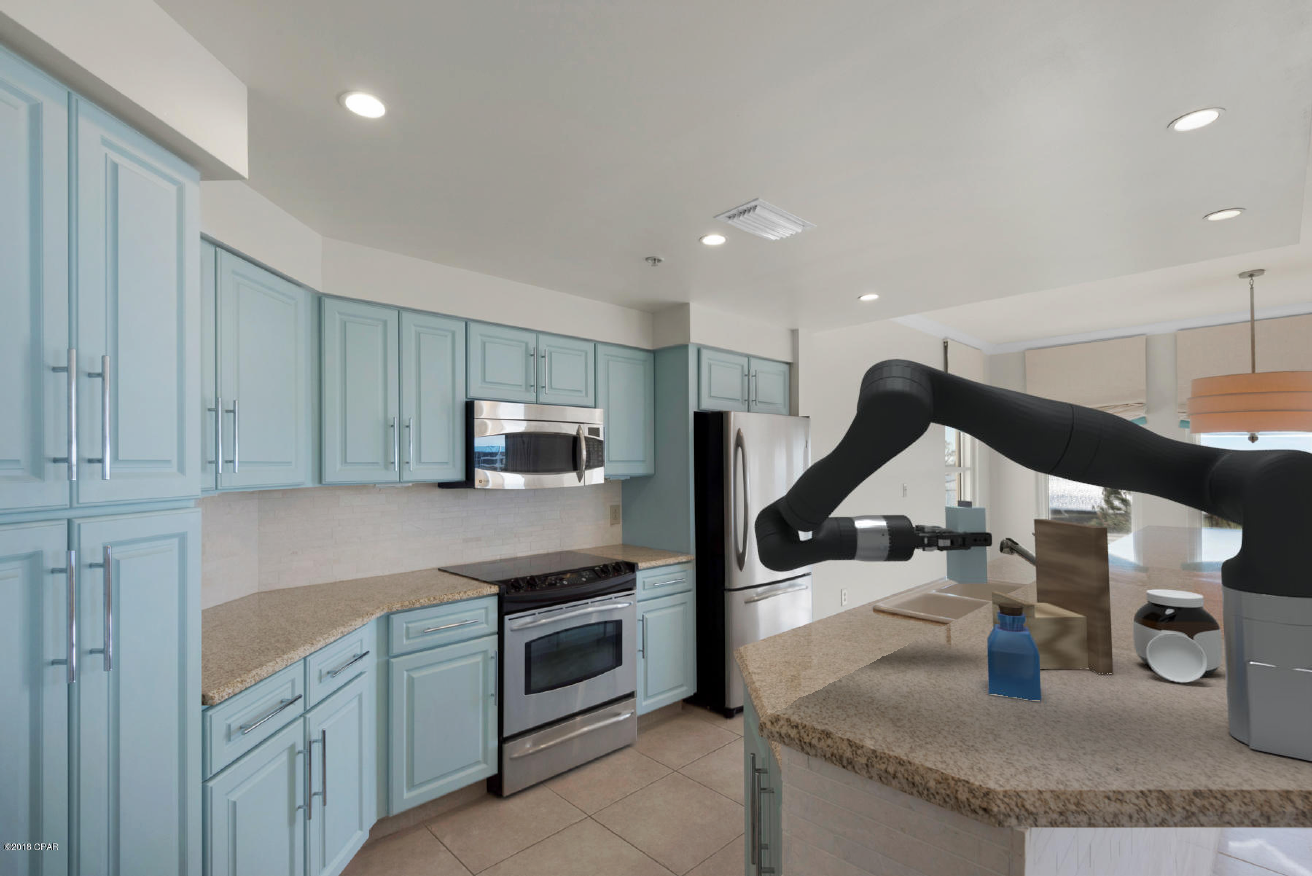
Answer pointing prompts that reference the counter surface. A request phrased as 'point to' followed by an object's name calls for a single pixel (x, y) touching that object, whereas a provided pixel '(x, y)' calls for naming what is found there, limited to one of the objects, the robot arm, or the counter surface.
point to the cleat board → (1069, 597)
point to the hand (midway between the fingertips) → (982, 537)
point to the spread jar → (1177, 636)
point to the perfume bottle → (1013, 656)
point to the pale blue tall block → (972, 561)
